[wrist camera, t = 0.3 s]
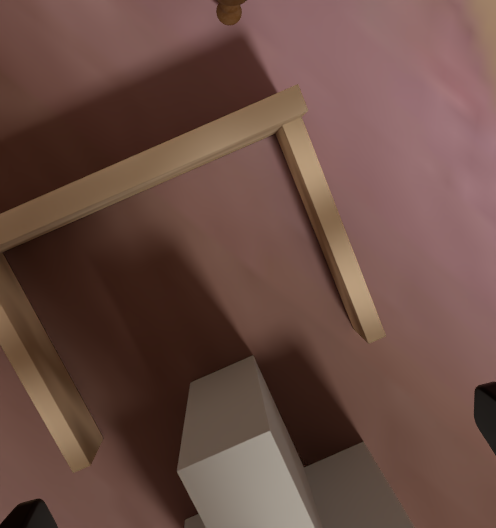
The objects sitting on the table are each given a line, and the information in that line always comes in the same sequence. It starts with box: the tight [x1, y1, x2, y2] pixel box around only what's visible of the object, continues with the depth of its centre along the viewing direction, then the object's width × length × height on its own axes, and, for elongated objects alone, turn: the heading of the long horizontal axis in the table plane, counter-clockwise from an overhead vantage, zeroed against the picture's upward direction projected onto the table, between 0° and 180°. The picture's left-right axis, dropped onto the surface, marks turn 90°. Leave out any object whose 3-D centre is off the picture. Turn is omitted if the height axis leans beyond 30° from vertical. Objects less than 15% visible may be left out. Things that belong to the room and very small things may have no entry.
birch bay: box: [0, 84, 386, 473], centre depth 21 cm, size 13×18×4 cm
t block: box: [177, 355, 415, 528], centre depth 21 cm, size 12×12×8 cm
